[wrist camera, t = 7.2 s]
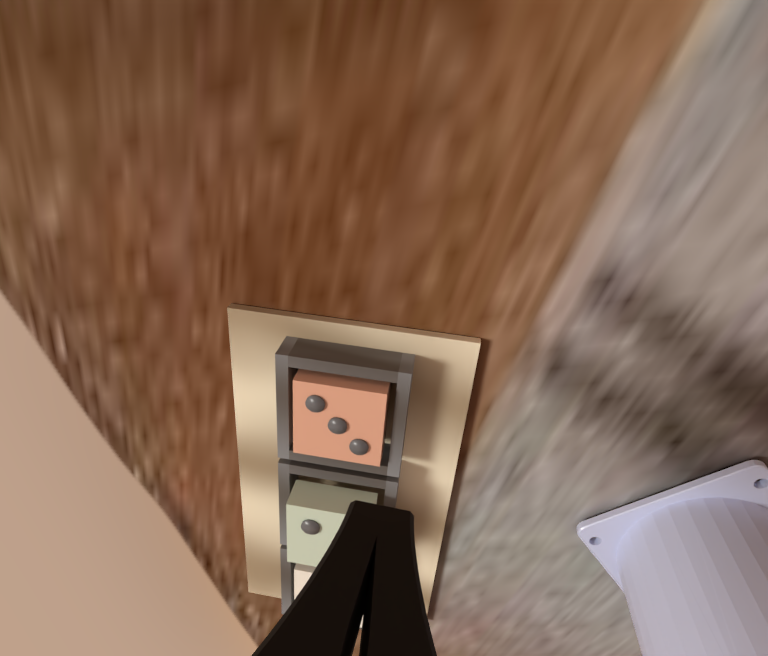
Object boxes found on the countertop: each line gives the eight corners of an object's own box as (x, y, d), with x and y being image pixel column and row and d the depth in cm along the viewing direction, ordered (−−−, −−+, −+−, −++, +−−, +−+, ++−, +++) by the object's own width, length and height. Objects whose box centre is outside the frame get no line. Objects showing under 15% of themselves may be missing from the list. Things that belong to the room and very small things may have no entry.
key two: (372, 549, 24) (366, 578, 23) (296, 535, 24) (286, 563, 23) (377, 493, 22) (372, 521, 21) (296, 479, 23) (285, 506, 21)
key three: (384, 443, 22) (379, 468, 21) (302, 430, 23) (292, 454, 21) (392, 373, 20) (386, 396, 19) (303, 360, 21) (291, 381, 19)
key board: (425, 618, 29) (423, 651, 27) (251, 585, 30) (238, 615, 28) (480, 338, 20) (481, 362, 18) (231, 303, 21) (212, 324, 19)
